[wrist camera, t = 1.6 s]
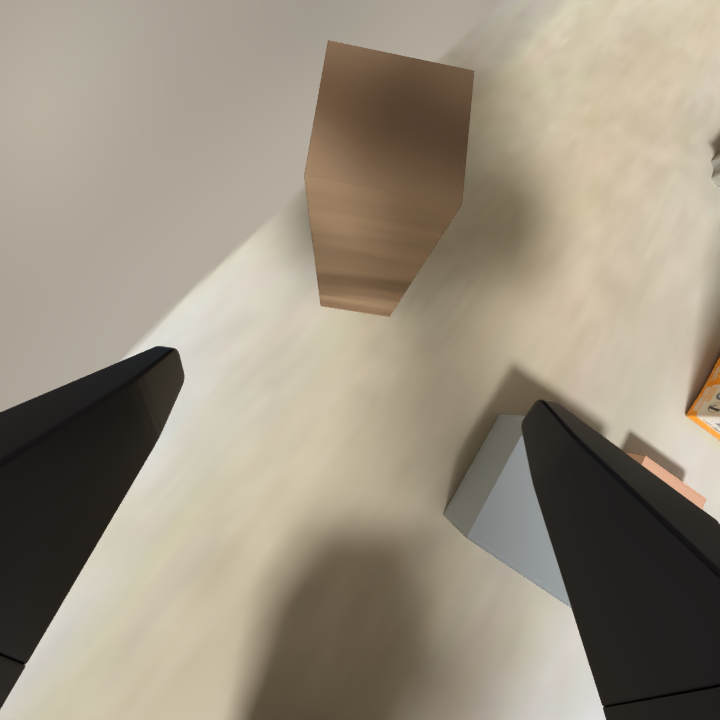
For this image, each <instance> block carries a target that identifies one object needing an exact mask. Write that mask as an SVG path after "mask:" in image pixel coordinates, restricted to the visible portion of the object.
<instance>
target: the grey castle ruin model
mask: <svg viewBox="0 0 720 720" xmlns="http://www.w3.org/2000/svg"><path fill="white" fill-rule="evenodd" d="M711 163H712V165H713V168H714V174H713V176H712V180H713V181H714V182H715V183H716V184H717V186H719V187H720V154H719V155H717V156H716V157H714V158H713V159H712V161H711Z"/></svg>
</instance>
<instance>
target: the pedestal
mask: <svg viewBox="0 0 720 720" xmlns="http://www.w3.org/2000/svg"><path fill="white" fill-rule="evenodd" d="M524 417H525V415H508V414H499V416H498V418H497V420H496V421H495V423H494V425H493V427H492V428H491V430H490V432H489V434H488V436H487V437H486V439H485V441H484V443H483V444H482V446H481V448H480V450H479V452H478V453H477V455H476V457H475V459H474V460H473V462H472V464H471V466H470V468H469V469H468V471H467V473H466V475H465V476H464V478H463V480H462V482H461V484H460V485H459V487H458V489H457V491H456V492H455V494H454V496H453V498H452V500H451V501H450V503H449V505H448V507H447V508H446V510H445V512H444V514H443V515H444V516H445V517H446V518H447V519H448V520H449V521H450V522H451V523H452V524H453V525H454V526H455V527H456V528H457V529H458V530H459V531H460V532H461V533H462V534H463V535H464V536H465V537H466V538H467V539H469V540H470V541H472V542H473V543H475V544H476V545H478V546H479V547H481V548H482V549H484V550H485V551H487V552H488V553H490V554H491V555H493V556H494V557H496V558H497V559H499V560H500V561H502V562H503V563H505V564H506V565H508V566H509V567H511V568H512V569H514V570H515V571H517V572H518V573H520V574H521V575H523V576H524V577H526V578H527V579H529V580H530V581H532V582H533V583H535V584H536V585H538V586H539V587H541V588H542V589H544V590H545V591H547V592H548V593H550V594H551V595H552V596H554V597H555V598H557V599H558V600H560V601H561V602H563V603H564V604H566V605H567V606H569V607H570V608H571V605H570V601H569V598H568V595H567V592H566V589H565V586H564V582H563V579H562V576H561V573H560V570H559V566H558V563H557V560H556V557H555V554H554V551H553V547H552V544H551V541H550V538H549V535H548V531H547V528H546V525H545V522H544V519H543V516H542V512H541V509H540V506H539V503H538V500H537V497H536V493H535V490H534V486H533V483H532V479H531V474H530V469H529V464H528V459H527V455H526V450H525V445H524V440H523V435H522V430H521V424H522V421H523V419H524Z"/></svg>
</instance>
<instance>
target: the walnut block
mask: <svg viewBox="0 0 720 720" xmlns="http://www.w3.org/2000/svg"><path fill="white" fill-rule="evenodd" d="M473 77H474V71H473V70H468V69H463V68H458V67H453V66H449V65H444V64H439V63H434V62H429V61H424V60H420V59H414V58H410V57H405V56H401V55H396V54H391V53H386V52H381V51H376V50H371V49H367V48H362V47H357V46H352V45H348V44H343V43H338V42H333V41H328V43H327V49H326V55H325V61H324V66H323V72H322V78H321V83H320V89H319V94H318V100H317V106H316V112H315V117H314V123H313V129H312V135H311V140H310V146H309V152H308V157H307V163H306V169H305V174H304V178H305V186H306V194H307V202H308V209H309V217H310V225H311V233H312V241H313V249H314V257H315V265H316V272H317V280H318V288H319V296H320V304H321V306H324V307H330V308H337V309H343V310H350V311H356V312H363V313H369V314H376V315H383V316H390V315H391V313H392V312H393V310H394V309H395V307H396V306H397V304H398V302H399V301H400V299H401V298H402V296H403V295H404V293H405V292H406V290H407V288H408V287H409V285H410V284H411V282H412V281H413V279H414V278H415V276H416V275H417V273H418V271H419V270H420V268H421V267H422V265H423V264H424V262H425V261H426V259H427V257H428V256H429V254H430V253H431V251H432V250H433V248H434V247H435V245H436V243H437V242H438V240H439V239H440V237H441V236H442V234H443V233H444V231H445V229H446V228H447V226H448V225H449V223H450V222H451V220H452V219H453V217H454V216H455V214H456V212H457V211H458V209H459V208H460V206H461V205H462V198H463V187H464V176H465V165H466V154H467V143H468V132H469V121H470V110H471V99H472V88H473Z"/></svg>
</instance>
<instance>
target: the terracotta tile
mask: <svg viewBox="0 0 720 720" xmlns="http://www.w3.org/2000/svg"><path fill="white" fill-rule="evenodd" d="M625 453H626V452H625ZM626 454H628V455H629V456H630V457H632V458H633V459H634V460H636V461H637V462H639V463H640V464H641V465H643V466H644V467H645V468H647V469H648V470H649V471H651V472H652V473H653V474H655V475H656V476H657V477H659V478H660V479H661V480H663V481H664V482H666V483H667V484H668V485H670V486H671V487H672V488H674V489H675V490H676V491H678V492H679V493H680V494H682V495H683V496H684V497H686V498H687V499H689V500H690V501H691V502H693V503H694V504H695V505H697V506H698V507H699V508H701V509H702V508H703V506H704V504H705V502H706V498H704V497H703V496H701V495H700V494H699V493H697V492H696V491H694V490H693V489H692V488H690V487H689V486H687V485H686V484H685V483H683V482H682V481H680V480H679V479H678V478H676V477H675V476H673V475H672V474H671V473H669V472H668V471H666V470H665V469H664V468H662V467H661V466H659V465H658V464H657V463H655V462H654V461H652V460H651V459H649V458H648V457H647V456H643V455H637V454H632V453H626Z"/></svg>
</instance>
